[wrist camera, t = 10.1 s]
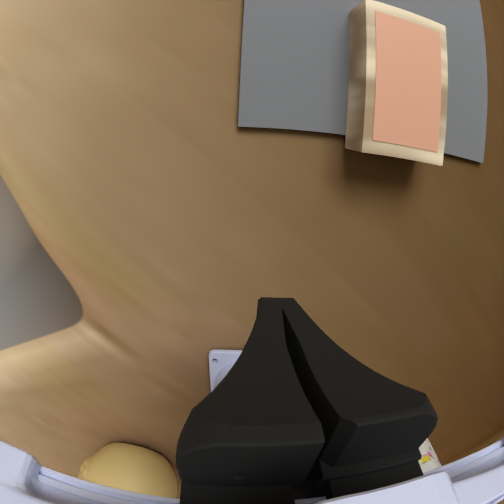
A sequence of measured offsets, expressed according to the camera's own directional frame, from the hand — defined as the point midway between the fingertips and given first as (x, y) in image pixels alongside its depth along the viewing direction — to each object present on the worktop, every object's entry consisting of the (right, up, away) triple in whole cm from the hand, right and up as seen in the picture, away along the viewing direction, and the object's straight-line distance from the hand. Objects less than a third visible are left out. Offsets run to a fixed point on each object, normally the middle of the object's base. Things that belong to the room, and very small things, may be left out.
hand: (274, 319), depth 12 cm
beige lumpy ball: (-16, -24, +21) cm, 36 cm away
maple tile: (+8, +9, +6) cm, 13 cm away
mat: (+9, +18, +4) cm, 20 cm away
